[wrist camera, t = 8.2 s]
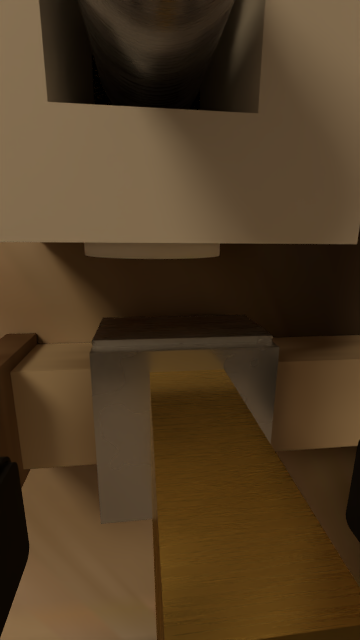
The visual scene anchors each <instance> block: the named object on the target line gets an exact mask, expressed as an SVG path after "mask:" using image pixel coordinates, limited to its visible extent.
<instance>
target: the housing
mask: <svg viewBox="0 0 360 640" xmlns="http://www.w3.org/2000/svg"><path fill="white" fill-rule="evenodd" d="M92 54H93V52H92V48H91V45H90V41H89V37H88V33H87V30H86V26H85V22H84V18H83V15H82V11H81V7H80V3H79V0H0V242H84V249H85V255H86V256H91V257H102V258H124V259H188V258H208V257H217V256H220V243H251V244H357V241H358V234H359V227H360V0H235V1H234V4H233V6H232V9H231V11H230V14H229V16H228V19H227V22H226V24H225V27H224V29H223V32H222V34H221V37H220V39H219V42H218V44H217V47H216V49H215V52H214V55H213V57H212V60H211V62H210V65H209V67H208V70H207V72H206V75H205V77H204V80H203V82H202V85H201V87H200V108H199V110H186V109H168V108H150V107H131V106H113V105H95V104H94V87H93V68H92Z"/></svg>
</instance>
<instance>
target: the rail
mask: <svg viewBox="0 0 360 640" xmlns="http://www.w3.org/2000/svg"><path fill="white" fill-rule="evenodd" d="M272 341H273V342H274V343H275V344H276V345H278V346H279V347H280V348H279V358H278V369H277V380H276V391H275V402H274V412H273V423H272V434H271V446H272V447H273V449H274V451H275V452H276V451H290V450H304V449H318V448H332V447H346V446H358V442H359V440H360V335H344V336H309V337H274V338H272ZM91 348H92V343H64V344H37V337H36V333H31V334H7V335H5V336H4V337H2V338H1V339H0V457H6V456H7V457H9V458H10V460H11V462H16V463H17V464H18V469H19V477H20V484H21V488H22V486H23V484H24V482H25V480H26V477H27V475H28V473H29V471H30V469H37V468H51V467H65V466H79V465H93V464H97V459H96V444H95V429H94V415H93V400H92V385H91V370H90V356H89V353H90V351H91Z"/></svg>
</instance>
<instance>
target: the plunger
mask: <svg viewBox="0 0 360 640" xmlns="http://www.w3.org/2000/svg"><path fill="white" fill-rule="evenodd" d="M234 1H235V0H79V3H80V7H81V11H82V15H83V18H84V22H85V26H86V30H87V33H88V37H89V41H90V45H91V48H92V52H93V56H94V59H95V63H96V67H97V71H98V74H99V78H100V81H101V84H102V87H103V89H104V91H105V93H106V95H107V97H108V98H109V100H110V101H111V102H112V104H113V105H114V106H131V107H150V108H168V109H186V110H188V109H189V108H190V107H191V105H192V104H193V102H194V101H195V99H196V97H197V95H198V92H199V90H200V87H201V85H202V82H203V80H204V77H205V75H206V72H207V70H208V67H209V65H210V62H211V60H212V57H213V55H214V52H215V49H216V47H217V44H218V42H219V39H220V37H221V34H222V32H223V29H224V27H225V24H226V22H227V19H228V16H229V14H230V11H231V9H232V6H233V4H234Z"/></svg>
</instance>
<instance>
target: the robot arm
mask: <svg viewBox="0 0 360 640" xmlns="http://www.w3.org/2000/svg"><path fill="white" fill-rule="evenodd" d="M346 520H347V523H348V525H349V528H350V529H351V531H352V532H353V534H354V535H355V536H356V538H357V539H358V541H359V542H360V440H359V442H358V447H357V452H356V458H355V464H354V470H353V475H352V481H351V487H350V493H349V499H348V504H347V510H346ZM28 554H29V540H28V533H27V526H26V519H25V512H24V505H23V498H22V491H21V484H20V477H19V469H18V464H17V463H16V462H11V460H10V458H9V457H7V456H6V457H0V637H1V634H2V631H3V628H4V625H5V622H6V620H7V617H8V614H9V611H10V608H11V605H12V603H13V600H14V597H15V594H16V591H17V588H18V586H19V583H20V580H21V577H22V574H23V571H24V569H25V566H26V563H27V559H28Z"/></svg>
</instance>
